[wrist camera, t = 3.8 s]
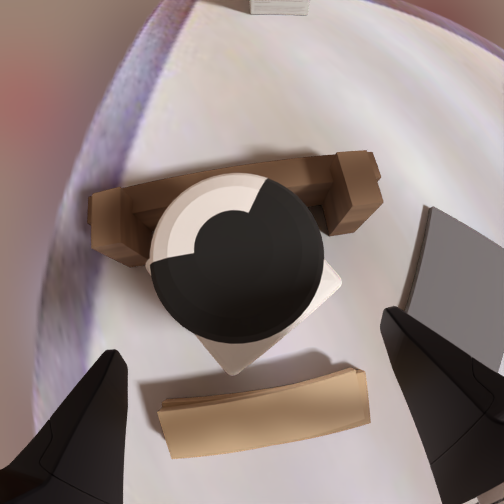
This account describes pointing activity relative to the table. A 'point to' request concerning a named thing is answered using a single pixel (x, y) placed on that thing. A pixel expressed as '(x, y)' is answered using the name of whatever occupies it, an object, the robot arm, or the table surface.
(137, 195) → the walnut rack
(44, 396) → the table surface
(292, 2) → the supplement box
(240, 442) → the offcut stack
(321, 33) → the table surface
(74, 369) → the table surface
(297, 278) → the medicine bottle
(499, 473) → the robot arm
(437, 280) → the rubber mat
